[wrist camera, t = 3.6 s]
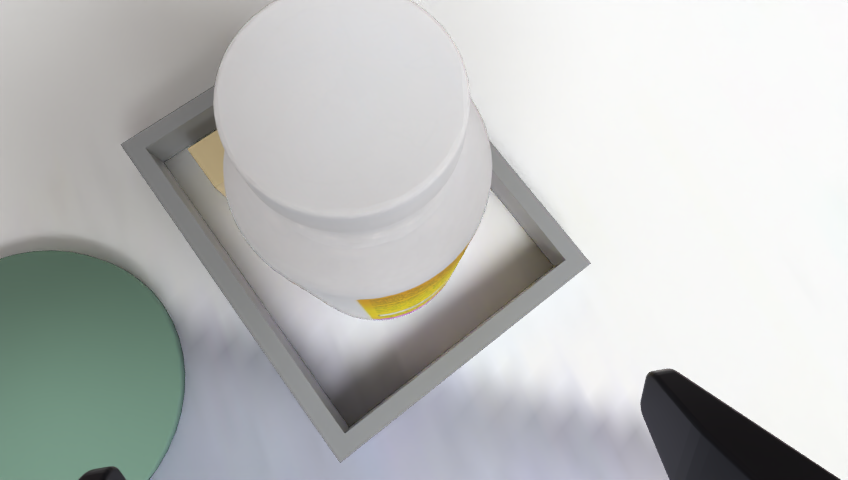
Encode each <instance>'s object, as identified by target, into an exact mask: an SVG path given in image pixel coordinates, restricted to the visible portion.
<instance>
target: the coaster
mask: <svg viewBox="0 0 848 480" xmlns="http://www.w3.org/2000/svg"><path fill="white" fill-rule="evenodd" d="M184 390H185V369H184V359H183V353H182V349H181V344H180V340H179V337H178V334H177V332H176V329H175V327H174V324H173V322H172V320H171V318H170V316H169V315H168V313H167V311H166V309H165V307H164V306H163V305H162V303H161V302H160V301H159V300H158V298H157V297H156V296H155V294H154V293H153V292H152V291H151V290H150V289H149V288H148V287H147V286H146V285H144V284H143V283H142V282H141V281H140V280H139V279H137V278H136V277H134V276H133V275H132V274H130V273H129V272H127V271H125V270H123V269H121V268H119V267H118V266H116V265H114V264H111V263H109V262H106V261H103V260H100V259H97V258H94V257H91V256H88V255H83V254H78V253H73V252H65V251H52V250H51V251H33V252H27V253H21V254H15V255H11V256H8V257H5V258H1V259H0V480H78V479H79V478H80V477H81V476H82V475H83V474H84V473H86V472H87V471H89V470H92V469H97V468H103V467H108V466H114V467H117V468H118V469H119V470H120V471H121V473H122V474H123V476H124V477H125V479H126V480H149V479H150V478H151V476H152V475H153V474H154V472H155V471H156V470H157V468H158V466H159V465H160V463H161V461H162V459H163V458H164V456H165V454H166V452H167V451H168V448H169V446H170V444H171V441H172V439H173V437H174V434H175V432H176V429H177V425H178V422H179V418H180V415H181V411H182V405H183V399H184Z"/></svg>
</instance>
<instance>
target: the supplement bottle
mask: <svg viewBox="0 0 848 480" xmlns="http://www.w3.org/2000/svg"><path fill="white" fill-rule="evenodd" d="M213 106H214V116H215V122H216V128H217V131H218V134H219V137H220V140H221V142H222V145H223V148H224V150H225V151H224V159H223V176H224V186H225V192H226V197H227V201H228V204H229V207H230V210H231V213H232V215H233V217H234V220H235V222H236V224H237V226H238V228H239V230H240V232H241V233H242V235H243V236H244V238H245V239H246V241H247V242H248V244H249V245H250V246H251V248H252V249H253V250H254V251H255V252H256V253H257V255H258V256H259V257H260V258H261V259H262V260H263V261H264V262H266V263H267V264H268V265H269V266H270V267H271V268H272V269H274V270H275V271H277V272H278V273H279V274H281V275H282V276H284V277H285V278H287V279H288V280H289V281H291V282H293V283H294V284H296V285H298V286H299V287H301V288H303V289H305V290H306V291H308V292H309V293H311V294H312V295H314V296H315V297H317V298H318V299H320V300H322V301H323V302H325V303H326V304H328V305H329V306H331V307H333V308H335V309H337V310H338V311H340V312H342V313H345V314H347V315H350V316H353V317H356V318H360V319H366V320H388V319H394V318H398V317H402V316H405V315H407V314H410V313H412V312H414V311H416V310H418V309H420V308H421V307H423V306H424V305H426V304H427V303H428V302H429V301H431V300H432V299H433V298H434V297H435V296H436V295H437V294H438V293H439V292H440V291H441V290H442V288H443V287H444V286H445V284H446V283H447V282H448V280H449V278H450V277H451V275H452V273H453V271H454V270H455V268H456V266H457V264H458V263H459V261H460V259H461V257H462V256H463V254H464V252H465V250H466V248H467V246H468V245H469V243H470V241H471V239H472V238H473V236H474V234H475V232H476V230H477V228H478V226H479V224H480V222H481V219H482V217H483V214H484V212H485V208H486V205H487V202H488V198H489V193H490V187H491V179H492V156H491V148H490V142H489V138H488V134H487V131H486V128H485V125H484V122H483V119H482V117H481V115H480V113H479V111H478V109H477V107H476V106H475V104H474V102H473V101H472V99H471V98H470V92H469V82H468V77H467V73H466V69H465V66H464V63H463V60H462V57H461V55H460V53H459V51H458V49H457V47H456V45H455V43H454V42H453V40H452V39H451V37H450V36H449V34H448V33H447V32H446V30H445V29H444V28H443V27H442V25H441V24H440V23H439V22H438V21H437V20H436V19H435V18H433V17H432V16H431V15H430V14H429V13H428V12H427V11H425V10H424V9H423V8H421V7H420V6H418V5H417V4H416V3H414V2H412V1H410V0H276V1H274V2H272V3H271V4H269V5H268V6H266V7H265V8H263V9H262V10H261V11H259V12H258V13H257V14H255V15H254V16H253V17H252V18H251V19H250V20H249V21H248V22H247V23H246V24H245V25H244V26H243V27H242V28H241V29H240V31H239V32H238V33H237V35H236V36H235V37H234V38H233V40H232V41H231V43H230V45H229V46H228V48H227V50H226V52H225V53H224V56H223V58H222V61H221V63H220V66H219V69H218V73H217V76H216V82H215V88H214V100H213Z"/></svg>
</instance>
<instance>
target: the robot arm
mask: <svg viewBox="0 0 848 480" xmlns="http://www.w3.org/2000/svg"><path fill="white" fill-rule="evenodd" d="M641 411H642V415H643V417H644V420H645V422H646V425H647V427H648V429H649V432H650V434H651V437H652V439H653V441H654V444H655V446H656V449H657V451H658V453H659V456H660V458H661V461H662V463H663V465H664V468H665V470H666V473H667V475H668V477H669V480H840V479H839V478H837V477H836V476H834V475H833V474H831V473H830V472H828V471H827V470H825V469H824V468H822V467H821V466H819V465H818V464H816V463H815V462H813V461H812V460H810V459H809V458H807V457H806V456H804V455H803V454H801V453H800V452H798V451H797V450H795V449H794V448H792V447H791V446H789V445H788V444H786V443H785V442H783V441H781V440H780V439H778V438H777V437H775V436H774V435H772V434H771V433H769V432H768V431H766V430H765V429H763V428H762V427H760V426H759V425H757V424H756V423H754V422H753V421H751V420H750V419H748V418H747V417H745V416H744V415H742V414H741V413H739V412H738V411H736V410H735V409H733V408H732V407H730V406H729V405H727V404H726V403H724V402H723V401H721V400H720V399H718V398H717V397H715V396H713V395H712V394H710V393H709V392H707V391H706V390H704V389H703V388H701V387H700V386H698V385H697V384H695V383H694V382H692V381H691V380H689V379H688V378H686V377H685V376H683V375H682V374H680V373H679V372H677V371H675V370H673V369H662V370H656V371H651V372H649V373H648V374H647V376H646V380H645V384H644V389H643V393H642V398H641ZM78 480H126V479H125V477H124V476H123V474H122V473H121V471H120V470H119V469H118V468H117V467H114V466H108V467H103V468H97V469H92V470H89V471H87V472H86V473H84V474H83V475H82V476H81V477H80V478H79V479H78Z"/></svg>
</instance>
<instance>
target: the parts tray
mask: <svg viewBox="0 0 848 480" xmlns="http://www.w3.org/2000/svg"><path fill="white" fill-rule="evenodd" d="M214 88H215V86H213V87H212V88H210V89H208V90H207V91H205V92H204V93H202V94H200V95H199V96H197V97H196V98H194V99H193V100H191V101H189V102H188V103H186V104H185V105H183V106H181V107H180V108H178V109H177V110H175V111H173V112H172V113H170V114H169V115H167V116H165V117H164V118H162V119H161V120H159V121H157V122H156V123H154V124H153V125H151V126H149V127H148V128H146V129H145V130H143V131H141V132H140V133H138V134H137V135H135V136H133V137H132V138H130V139H129V140H127V141H125V142H124V143H122V144H121V146H122V147H123V149H124V150H125V152H126V153H127V154H128V156H129V157H130V159H131V160H132V162H133V163H134V165H135V166H136V168H137V169H138V170H139V172H140V173H141V175H142V176H143V178H144V179H145V181H146V182H147V184H148V185H149V186H150V188H151V189H152V191H153V192H154V194H155V195H156V197H157V198H158V200H159V201H160V202H161V204H162V205H163V207H164V208H165V210H166V211H167V213H168V214H169V215H170V217H171V218H172V220H173V221H174V223H175V224H176V226H177V227H178V229H179V230H180V231H181V233H182V234H183V236H184V237H185V239H186V240H187V242H188V243H189V245H190V246H191V247H192V249H193V250H194V252H195V253H196V255H197V256H198V258H199V259H200V260H201V262H202V263H203V265H204V266H205V268H206V269H207V271H208V272H209V274H210V275H211V276H212V278H213V279H214V281H215V282H216V284H217V285H218V287H219V288H220V290H221V291H222V292H223V294H224V295H225V297H226V298H227V300H228V301H229V303H230V304H231V305H232V307H233V308H234V310H235V311H236V313H237V314H238V316H239V317H240V319H241V320H242V321H243V323H244V324H245V326H246V327H247V329H248V330H249V332H250V333H251V335H252V336H253V337H254V339H255V340H256V342H257V343H258V345H259V346H260V348H261V349H262V351H263V352H264V353H265V355H266V356H267V358H268V359H269V361H270V362H271V364H272V365H273V366H274V368H275V369H276V371H277V372H278V374H279V375H280V377H281V378H282V380H283V381H284V382H285V384H286V385H287V387H288V388H289V390H290V391H291V393H292V394H293V396H294V397H295V398H296V400H297V401H298V403H299V404H300V406H301V407H302V409H303V410H304V411H305V413H306V414H307V416H308V417H309V419H310V420H311V422H312V423H313V425H314V426H315V427H316V429H317V430H318V432H319V433H320V435H321V436H322V438H323V439H324V441H325V442H326V443H327V445H328V446H329V448H330V449H331V451H332V452H333V454H334V455H335V456H336V458H337V459H338V461H339V462H340V463H341V462H342V461H343V460H345V459H346V458H347V457H348V456H350V455H351V454H352V453H353V452H355V451H356V450H357V449H358V448H360V447H361V446H362V445H363V444H365V443H366V442H367V441H368V440H370V439H371V438H372V437H373V436H375V435H376V434H377V433H378V432H380V431H381V430H382V429H383V428H385V427H386V426H387V425H388V424H390V423H391V422H392V421H393V420H395V419H396V418H397V417H399V416H400V415H401V414H402V413H404V412H405V411H406V410H407V409H409V408H410V407H411V406H412V405H414V404H415V403H416V402H417V401H419V400H420V399H421V398H422V397H424V396H425V395H426V394H427V393H429V392H430V391H431V390H432V389H434V388H435V387H436V386H437V385H439V384H440V383H441V382H442V381H444V380H445V379H446V378H447V377H449V376H450V375H451V374H452V373H454V372H455V371H456V370H458V369H459V368H460V367H461V366H463V365H464V364H465V363H466V362H468V361H469V360H470V359H471V358H473V357H474V356H475V355H476V354H478V353H479V352H480V351H481V350H483V349H484V348H485V347H486V346H488V345H489V344H490V343H491V342H493V341H494V340H495V339H496V338H498V337H499V336H500V335H501V334H503V333H504V332H505V331H506V330H508V329H509V328H510V327H511V326H513V325H514V324H515V323H516V322H518V321H519V320H520V319H522V318H523V317H524V316H525V315H527V314H528V313H529V312H530V311H532V310H533V309H534V308H535V307H537V306H538V305H539V304H540V303H542V302H543V301H544V300H545V299H547V298H548V297H549V296H550V295H552V294H553V293H554V292H555V291H557V290H558V289H559V288H560V287H562V286H563V285H564V284H565V283H567V282H568V281H569V280H570V279H572V278H573V277H574V276H575V275H577V274H578V273H579V272H581V271H582V270H583V269H584V268H586V267H587V266H588V265H589V264H591V263H590V262H589V261H588V259H587V258H586V257H585V256H584V255H583V253H582V252H581V251H580V250H579V249H578V247H577V246H576V245H575V244H574V242H573V241H572V240H571V239H570V238H569V236H568V235H567V234H566V233H565V232H564V230H563V229H562V228H561V227H560V226H559V224H558V223H557V222H556V221H555V219H554V218H553V217H552V216H551V215H550V213H549V212H548V211H547V210H546V209H545V207H544V206H543V205H542V204H541V203H540V201H539V200H538V199H537V198H536V196H535V195H534V194H533V193H532V192H531V190H530V189H529V188H528V187H527V186H526V184H525V183H524V182H523V181H522V180H521V178H520V177H519V176H518V175H517V173H516V172H515V171H514V170H513V169H512V167H511V166H510V165H509V164H508V163H507V161H506V160H505V159H504V158H503V157H502V155H501V154H500V153H499V152H498V150H497V149H496V148H495V147H494V146H493V144H492V143H491V142H490V141H489V142H490V148H491V156H492V179H491V187H490V188H491V189H492V190H493V192H494V193H495V194H496V195H497V197H498V198H499V199H500V200H501V201H502V203H503V204H504V205H505V206H506V208H507V209H508V210H509V211H510V213H511V214H512V215H513V216H514V217H515V219H516V220H517V221H518V222H519V224H520V225H521V226H522V227H523V229H524V230H525V231H526V232H527V233H528V235H529V236H530V237H531V238H532V240H533V241H534V242H535V243H536V245H537V246H538V247H539V248H540V250H541V251H542V252H543V253H544V254H545V256H546V257H547V258H548V259H549V261H550V262H551V263H552V264H553V266H554V267H553V268H552V269H550V270H549V271H548V272H546V273H545V274H544V275H543V276H541V277H540V278H539V279H538V280H536V281H535V282H534V283H532V284H531V285H530V286H529V287H527V288H526V289H525V290H524V291H522V292H521V293H520V294H518V295H517V296H516V297H515V298H513V299H512V300H511V301H510V302H508V303H507V304H506V305H505V306H503V307H502V308H501V309H499V310H498V311H497V312H496V313H494V314H493V315H492V316H491V317H489V318H488V319H487V320H485V321H484V322H483V323H482V324H480V325H479V326H478V327H477V328H475V329H474V330H473V331H471V332H470V333H469V334H468V335H466V336H465V337H464V338H463V339H461V340H460V341H459V342H457V343H456V344H455V345H454V346H452V347H451V348H450V349H449V350H447V351H446V352H445V353H443V354H442V355H441V356H440V357H438V358H437V359H436V360H435V361H433V362H432V363H431V364H429V365H428V366H427V367H426V368H424V369H423V370H422V371H421V372H419V373H418V374H417V375H415V376H414V377H413V378H412V379H410V380H409V381H408V382H407V383H405V384H404V385H403V386H401V387H400V388H399V389H398V390H396V391H395V392H394V393H393V394H391V395H390V396H389V397H387V398H386V399H385V400H384V401H382V402H381V403H380V404H379V405H377V406H376V407H375V408H373V409H372V410H371V411H370V412H368V413H367V414H366V415H365V416H363V417H362V418H361V419H359V420H358V421H357V422H356V423H354V424H353V425H352V426H351V427H348V425H347V424H346V422H345V421H344V419H343V418H342V417H341V415H340V414H339V412H338V411H337V409H336V408H335V407H334V405H333V404H332V402H331V401H330V399H329V398H328V397H327V395H326V394H325V392H324V391H323V389H322V388H321V387H320V385H319V384H318V382H317V381H316V379H315V378H314V377H313V375H312V374H311V372H310V371H309V369H308V368H307V367H306V365H305V364H304V362H303V361H302V359H301V358H300V357H299V355H298V354H297V352H296V351H295V349H294V348H293V347H292V345H291V344H290V342H289V341H288V339H287V338H286V337H285V335H284V334H283V332H282V331H281V329H280V328H279V327H278V325H277V324H276V322H275V321H274V319H273V318H272V317H271V315H270V314H269V312H268V311H267V309H266V308H265V307H264V305H263V304H262V302H261V301H260V299H259V298H258V297H257V295H256V294H255V292H254V291H253V289H252V288H251V287H250V285H249V284H248V282H247V281H246V279H245V278H244V277H243V275H242V274H241V272H240V271H239V269H238V268H237V267H236V265H235V264H234V262H233V261H232V259H231V258H230V257H229V255H228V254H227V252H226V251H225V249H224V248H223V247H222V245H221V244H220V242H219V241H218V239H217V238H216V237H215V235H214V234H213V232H212V231H211V229H210V228H209V227H208V225H207V224H206V222H205V221H204V219H203V218H202V217H201V215H200V214H199V212H198V211H197V209H196V208H195V207H194V205H193V204H192V202H191V201H190V199H189V198H188V197H187V195H186V194H185V192H184V191H183V189H182V188H181V187H180V185H179V184H178V182H177V181H176V179H175V178H174V177H173V175H172V174H171V172H170V171H169V169H168V168H167V167H166V165H165V164H164V162H165V161H167V160H168V159H170V158H171V157H173V156H174V155H176V154H177V153H179V152H181V151H182V150H184V149H185V148H187V147H188V146H190V145H191V144H193V143H195V142H196V141H198V140H199V139H201V138H202V137H204V136H205V135H207V134H209V133H210V132H212V131H213V130H215V129H216V122H215V116H214V106H213V100H214ZM188 151H189V152H190V153H191V155H192V156H193V158H194V159H195V160H196V162H197V163H198V165H199V166H200V167H201V169H202V170H203V172H204V173H205V174H206V176H207V177H208V179H209V180H210V181H211V183H212V184H213V186H214V187H215V188H216V189H217V190H218V191H219V192H221V193H222V194H223V195H224V196H225V197H226V192H225V186H224V176H223V159H224V151H225V150H224V148H223V145H222V142H221V140H220V137H219V134H218V131H217V130H216V131H214V132H213V133H211V134H210V135H208V136H207V137H205V138H203V139H202V140H200V141H199V142H197V143H196V144H194V145H193V146H191V147H189V148H188ZM226 198H227V197H226Z"/></svg>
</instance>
